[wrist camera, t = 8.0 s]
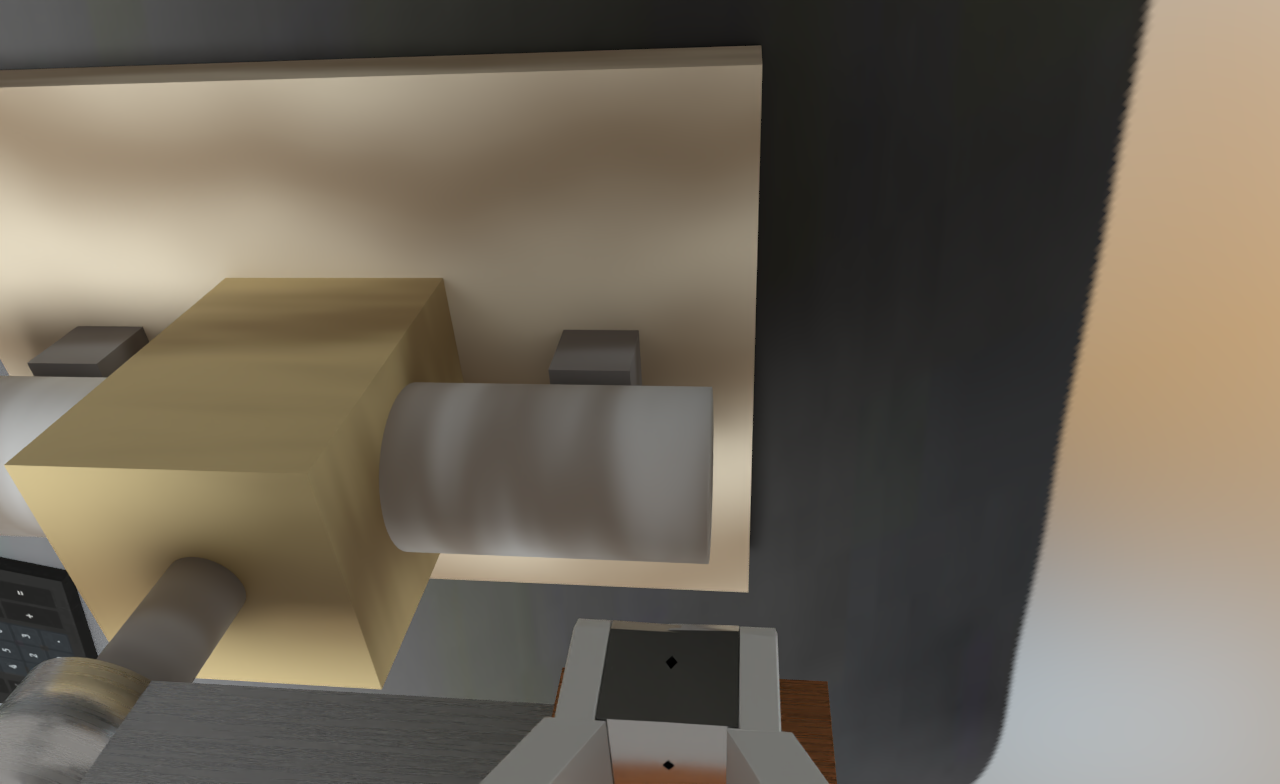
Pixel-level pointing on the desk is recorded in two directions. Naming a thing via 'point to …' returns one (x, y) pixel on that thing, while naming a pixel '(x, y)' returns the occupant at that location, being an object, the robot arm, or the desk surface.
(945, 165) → the desk surface
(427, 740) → the valve lever
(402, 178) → the valve stand
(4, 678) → the calculator
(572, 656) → the robot arm
